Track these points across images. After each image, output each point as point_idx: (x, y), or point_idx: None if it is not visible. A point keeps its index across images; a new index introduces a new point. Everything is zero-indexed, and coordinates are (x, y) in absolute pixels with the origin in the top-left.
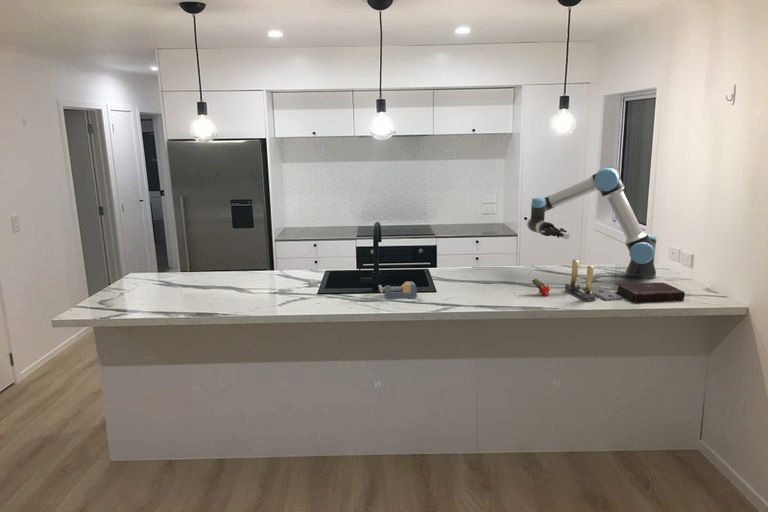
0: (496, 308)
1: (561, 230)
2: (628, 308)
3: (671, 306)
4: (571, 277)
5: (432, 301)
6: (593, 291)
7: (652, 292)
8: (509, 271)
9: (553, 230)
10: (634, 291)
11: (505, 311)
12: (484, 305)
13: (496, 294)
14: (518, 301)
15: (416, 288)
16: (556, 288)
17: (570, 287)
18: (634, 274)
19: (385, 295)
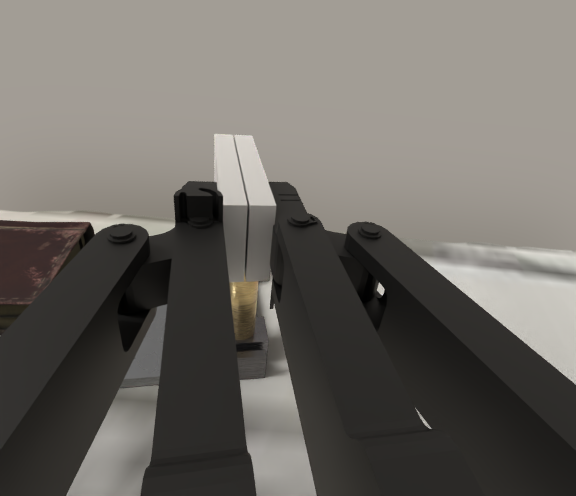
0: (515, 259)
1: (1, 493)
2: (159, 223)
3: (18, 218)
4: (256, 300)
5: None
6: (164, 318)
7: (9, 225)
8: None
9: (374, 329)
10: (65, 235)
11: (486, 244)
12: (557, 277)
13: (568, 357)
14: (466, 291)
15: None
16: (297, 413)
17: (263, 320)
18: None
19: None
